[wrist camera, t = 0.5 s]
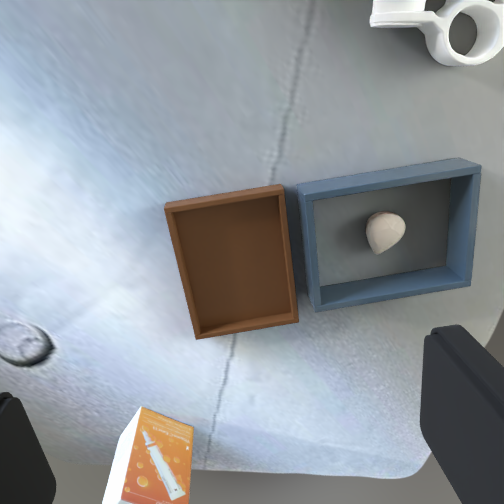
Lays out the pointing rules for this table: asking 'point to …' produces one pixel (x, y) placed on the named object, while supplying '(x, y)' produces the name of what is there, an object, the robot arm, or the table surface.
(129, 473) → the small box
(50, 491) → the robot arm
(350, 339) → the table surface
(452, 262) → the basin
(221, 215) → the tray
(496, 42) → the white flat holed block
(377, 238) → the white teardrop piece
